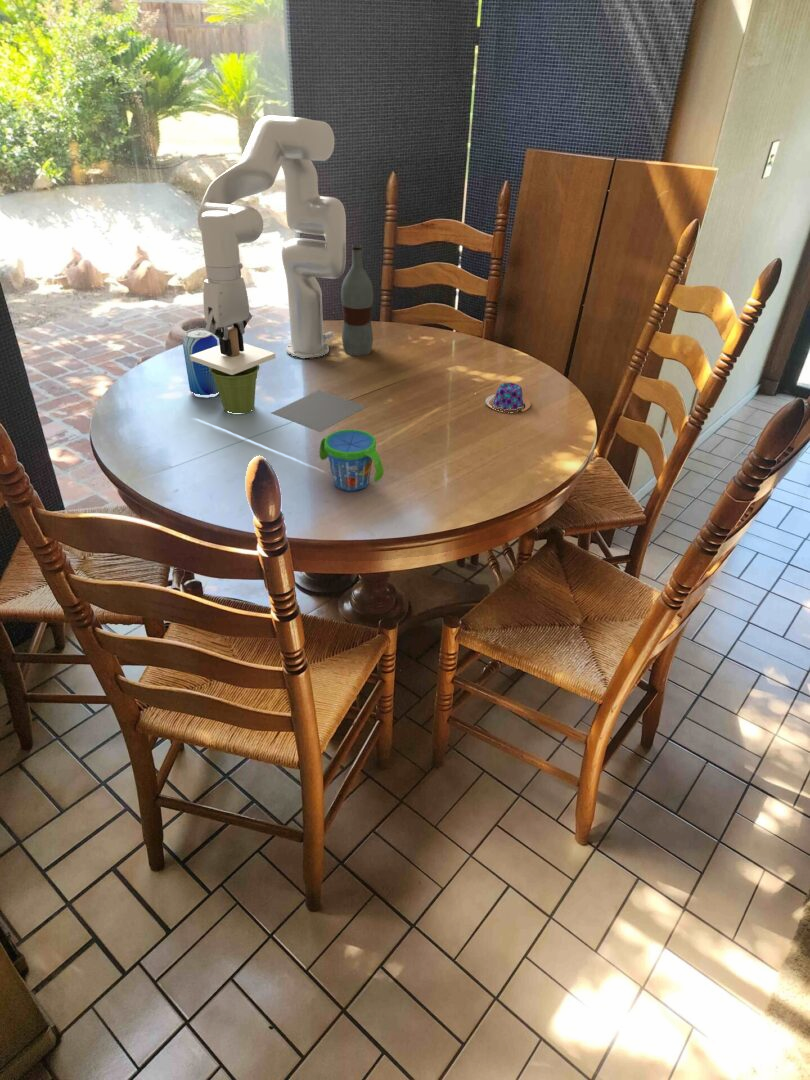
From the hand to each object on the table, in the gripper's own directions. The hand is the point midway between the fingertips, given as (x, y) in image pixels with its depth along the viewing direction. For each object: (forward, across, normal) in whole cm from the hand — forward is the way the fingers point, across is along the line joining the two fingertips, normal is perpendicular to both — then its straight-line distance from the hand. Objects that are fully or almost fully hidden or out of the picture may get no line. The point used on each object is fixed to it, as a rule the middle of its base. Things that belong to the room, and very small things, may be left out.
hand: (232, 351), depth 167 cm
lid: (+2, 0, 0) cm, 2 cm away
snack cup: (+16, +10, +44) cm, 48 cm away
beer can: (+15, -2, -14) cm, 21 cm away
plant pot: (+15, 0, 0) cm, 15 cm away
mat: (+15, -12, +16) cm, 25 cm away
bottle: (+15, -51, -3) cm, 53 cm away
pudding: (+16, -47, +51) cm, 71 cm away
